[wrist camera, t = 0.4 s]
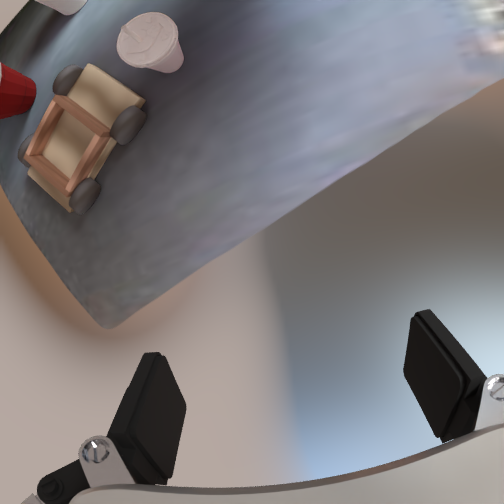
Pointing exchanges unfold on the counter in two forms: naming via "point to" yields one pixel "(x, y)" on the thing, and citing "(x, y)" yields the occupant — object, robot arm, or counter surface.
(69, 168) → the chassis
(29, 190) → the counter surface
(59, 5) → the roll
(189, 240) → the counter surface
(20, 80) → the plastic cup
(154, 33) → the smoothie
